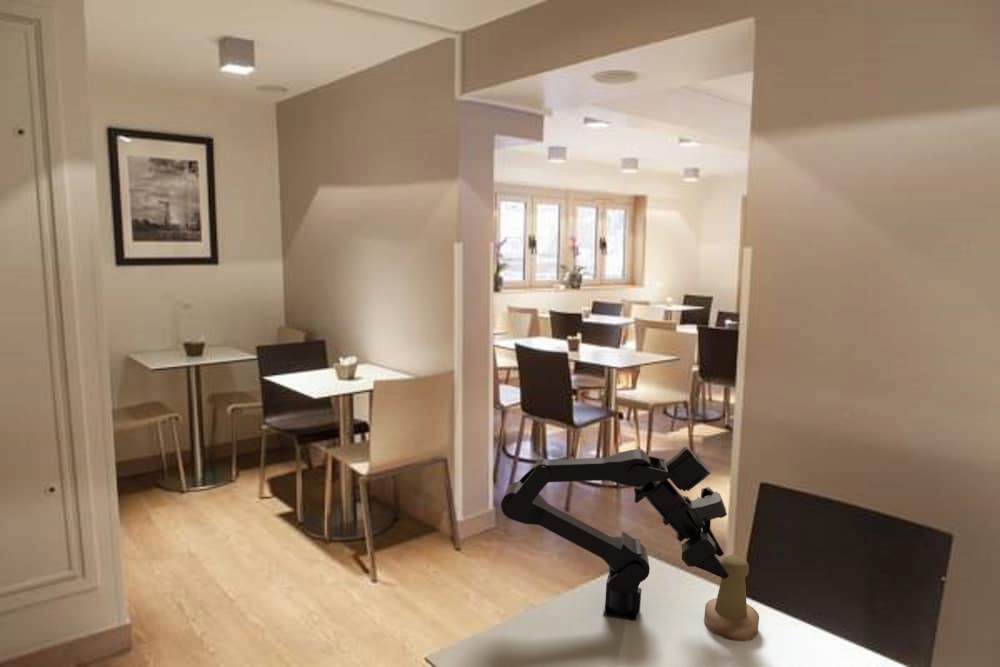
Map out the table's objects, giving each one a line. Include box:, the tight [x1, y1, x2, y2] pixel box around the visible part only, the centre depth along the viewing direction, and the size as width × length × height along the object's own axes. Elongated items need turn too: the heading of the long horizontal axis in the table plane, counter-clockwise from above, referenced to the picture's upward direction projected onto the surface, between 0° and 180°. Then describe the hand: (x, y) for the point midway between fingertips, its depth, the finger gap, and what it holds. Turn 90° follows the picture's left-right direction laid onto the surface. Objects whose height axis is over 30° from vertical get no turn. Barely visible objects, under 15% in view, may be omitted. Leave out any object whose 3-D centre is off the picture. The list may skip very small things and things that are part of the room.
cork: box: [715, 554, 750, 620], centre depth 128 cm, size 6×6×11 cm
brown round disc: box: [703, 597, 760, 642], centre depth 129 cm, size 10×10×3 cm
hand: (724, 565), depth 128 cm, fingers open, 9 cm apart
